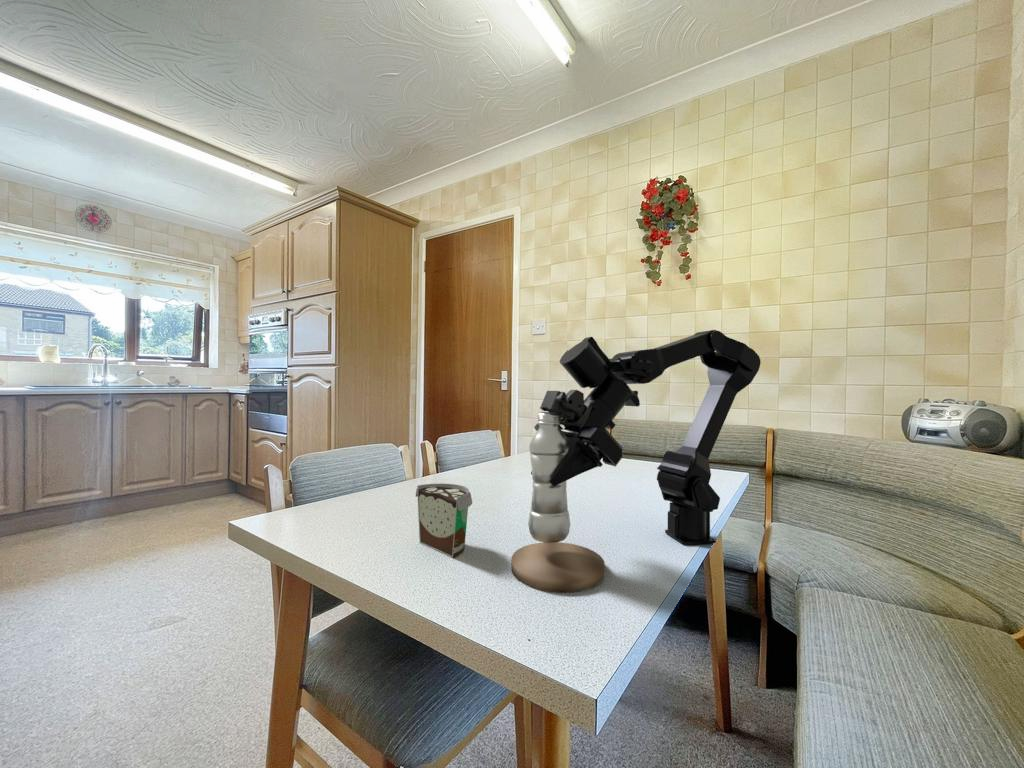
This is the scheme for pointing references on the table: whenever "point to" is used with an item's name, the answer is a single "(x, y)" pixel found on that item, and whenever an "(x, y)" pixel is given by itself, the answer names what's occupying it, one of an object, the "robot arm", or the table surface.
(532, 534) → the plastic bottle
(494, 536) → the table surface
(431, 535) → the food container
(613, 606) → the table surface
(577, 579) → the walnut stand
